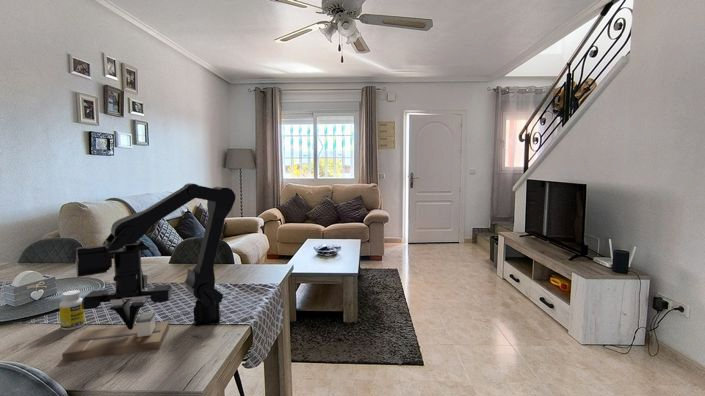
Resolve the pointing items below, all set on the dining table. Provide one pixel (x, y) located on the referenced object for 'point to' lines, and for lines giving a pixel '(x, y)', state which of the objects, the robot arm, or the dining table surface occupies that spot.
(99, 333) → the fader console
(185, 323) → the dining table surface
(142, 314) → the fader tab
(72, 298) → the supplement bottle
